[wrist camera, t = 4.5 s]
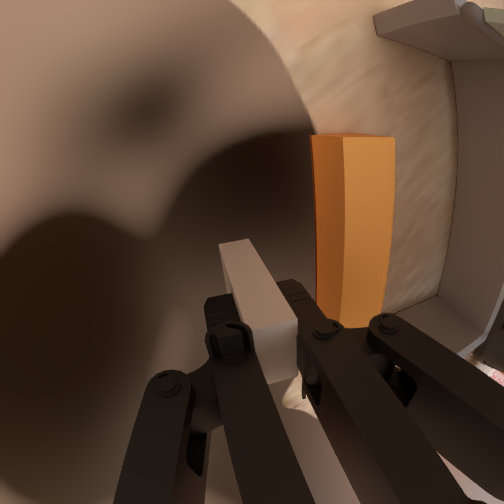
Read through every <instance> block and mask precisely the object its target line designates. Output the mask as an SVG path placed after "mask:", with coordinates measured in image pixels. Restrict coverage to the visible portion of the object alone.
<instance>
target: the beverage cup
mask: <svg viewBox="0 0 504 504" xmlns="http://www.w3.org/2000/svg"><path fill="white" fill-rule="evenodd" d="M488 376H489V377H491V378H492V379H494V380H495V381H497V382H498V383H499V384H501V385H502V386H504V375H502V374H501V373H500V372H499V371H498V370H496V369H492V370H491V371H490V372H489V374H488Z"/></svg>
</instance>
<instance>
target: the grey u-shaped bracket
mask: <svg viewBox="0 0 504 504" xmlns="http://www.w3.org/2000/svg"><path fill="white" fill-rule="evenodd" d="M466 2H467V1H466V0H413V1H411V2H408V3H405V4H402V5H399V6H397V7H394V8H392V9H389V10H387V11H384V12H382V13H379V14H377V15H375V16H373V18H374V22H375V27H376V32H377V36H380V37H384V38H388V39H391V40H394V41H398V42H401V43H404V44H407V45H410V46H413V47H416V48H419V49H421V50H424V51H427V52H429V53H432V54H434V55H437V56H439V57H442V58H444V59H446V60H449V61H451V64H452V70H453V77H454V85H455V94H456V106H457V123H458V166H457V184H456V196H455V205H454V214H453V221H452V228H451V234H450V240H449V246H448V251H447V256H446V261H445V265H444V270H443V274H442V278H441V282H440V286H439V290H438V294H437V296H435V297H432V298H430V299H428V300H426V301H424V302H421V303H419V304H417V305H414V306H412V307H410V308H407V309H405V310H403V311H400V312H398V313H395V314H394V315H396V316H399V317H401V318H402V319H404V320H405V321H407V322H408V323H410V324H411V325H413V326H415V327H416V328H418V329H419V330H421V331H422V332H424V333H425V334H427V335H428V336H430V337H431V338H433V339H434V340H436V341H438V342H439V343H441V344H442V345H444V346H445V347H447V348H448V349H450V350H451V351H453V352H454V353H456V354H457V355H459V356H460V357H462V358H463V357H465V356H466V355H467V354H469V353H470V352H471V351H473V350H474V349H475V348H476V347H478V346H479V345H480V344H481V343H483V342H484V341H485V340H486V338H487V336H488V334H489V332H490V329H491V327H492V325H493V323H494V320H495V318H496V316H497V313H498V311H499V308H500V306H501V303H502V301H503V298H504V51H503V50H502V49H501V48H500V47H499V46H497V45H496V44H495V43H494V42H492V41H491V40H490V39H489V38H487V37H486V36H485V35H483V34H482V33H481V32H479V31H478V30H476V29H475V28H474V27H472V26H471V25H469V24H468V23H466V22H465V21H464V20H463V18H462V16H461V6H462V5H463V4H464V3H466ZM396 366H397V365H396ZM397 367H398V366H397ZM398 368H399V367H398Z"/></svg>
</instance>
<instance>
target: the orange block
mask: <svg viewBox="0 0 504 504" xmlns="http://www.w3.org/2000/svg"><path fill="white" fill-rule="evenodd" d="M310 147H311V158H312V159H311V160H312V174H313V192H314V217H315V257H316V258H315V265H316V266H315V268H316V269H315V270H316V272H315V273H316V275H315V277H316V278H315V281H316V282H315V285H316V286H315V291H316V292H315V303H316V304H317V305H318V307H319V308H320V309H321V311H322V312H323V313H324V315H325V316H326V317H327V319H333V320H335V321H338V322H339V323H341V324H342V325H343V326H344V327H345V328H361V327H368V326H369V322H370V320H371V319H372V318H373V317H374V316H376V315H378V314H381V310H382V304H383V299H384V293H385V287H386V280H387V273H388V266H389V258H390V250H391V240H392V229H393V216H394V197H395V137H386V136H376V135H365V134H329V135H310Z"/></svg>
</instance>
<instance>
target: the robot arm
mask: <svg viewBox="0 0 504 504" xmlns="http://www.w3.org/2000/svg"><path fill="white" fill-rule="evenodd" d="M219 249H220V255H221V261H222V266H223V272H224V278H225V283H226V289H227V293H228V294H224V295H220V296H215V297H210V298H208V299H207V300H206V303H205V305H204V312H205V318H206V325H207V331H208V332H207V333H206V336H205V343H206V347H207V350H208V353H209V356H210V357H209V359H208V360H207V362H206V363H205V364H204V365H203V366H202V367H200V368H199V369H197V370H195V371H193V372H191V373H189V374H187V375H186V374H185V373H183V372H181V371H177V370H166V371H163V372H160V373H158V374H156V375H155V376H154V377H153V378H151V379H150V381H149V383H148V384H147V387H146V390H145V393H144V396H143V399H142V402H141V405H140V409H139V411H138V415H137V418H136V421H135V424H134V428H133V431H132V434H131V438H130V441H129V445H128V448H127V452H126V455H125V459H124V462H123V466H122V470H121V474H120V477H119V481H118V486H117V490H116V494H115V497H114V502H113V504H204V500H205V491H206V479H207V470H208V461H209V451H210V442H211V433H212V430H213V429H215V428H217V427H219V426H221V425H224V430H225V434H226V439H227V443H228V447H229V452H230V455H231V460H232V464H233V468H234V472H235V476H236V479H237V483H238V487H239V490H240V494H241V498H242V502H243V504H315V502H314V499H313V497H312V494H311V492H310V490H309V487H308V485H307V483H306V480H305V478H304V475H303V473H302V471H301V468H300V466H299V463H298V461H297V459H296V456H295V454H294V451H293V449H292V446H291V444H290V441H289V439H288V437H287V434H286V431H285V429H284V426H283V424H282V421H281V418H280V416H279V413H278V411H277V408H276V405H275V403H274V400H273V397H272V395H271V392H270V390H269V387H268V384H271V383H275V382H279V381H283V380H286V379H290V378H293V377H296V376H298V368H299V371H300V373H301V375H302V399H306V395H307V397H308V399H309V401H310V403H311V405H312V407H313V409H314V411H315V413H316V415H317V417H318V419H319V421H320V423H321V425H322V427H323V429H324V431H325V433H326V435H327V438H328V440H329V441H330V444H331V445H332V448H333V450H334V452H335V454H336V456H337V458H338V460H339V462H340V464H341V466H342V468H343V470H344V471H345V474H346V476H347V478H348V480H349V481H350V484H351V486H352V488H353V490H354V491H355V494H356V495H357V497H358V499H359V501H360V503H361V504H487V503H485V502H483V501H477V500H472V499H470V498H468V497H467V496H466V495H465V494H464V492H463V490H462V489H461V487H460V486H459V484H458V483H457V481H456V480H455V478H454V477H453V475H452V474H451V472H450V471H449V469H448V468H447V466H446V465H445V463H444V462H443V461H442V459H441V458H440V456H439V455H438V454H437V452H438V453H439V454H440V455H441V456H443V457H444V458H445V459H446V460H448V461H449V462H450V463H451V464H452V465H454V466H455V467H456V468H457V469H459V470H460V471H461V472H462V473H464V474H465V475H466V476H467V477H468V478H470V479H471V480H472V481H473V482H475V483H476V484H477V485H479V486H480V487H481V488H482V489H484V490H485V491H486V492H488V493H489V494H491V495H492V496H494V497H495V498H497V499H499V500H502V501H504V386H502V385H501V384H499V383H498V382H497V381H495V380H494V379H492V378H491V377H489V376H488V375H487V374H485V373H484V372H482V371H481V370H479V369H478V368H476V367H475V366H473V365H472V364H470V363H469V362H467V361H466V360H465V359H463V358H462V357H460V356H459V355H457V354H456V353H454V352H453V351H451V350H450V349H448V348H447V347H445V346H444V345H442V344H441V343H439V342H438V341H436V340H434V339H433V338H431V337H430V336H428V335H427V334H425V333H424V332H422V331H421V330H419V329H418V328H416V327H415V326H413V325H411V324H410V323H408V322H407V321H405V320H404V319H402V318H401V317H399V316H396V315H394V314H388V313H384V314H378V315H376V316H374V317H373V318H372V319H371V320H370V322H369V326H368V327H361V328H345V327H344V326H343V325H342V324H341V323H339V322H338V321H335V320H333V319H327V317H326V316H325V315H324V313H323V312H322V311H321V309H320V308H319V307H318V305H317V304H316V303H315V301H314V300H313V299H312V298H311V296H310V295H309V293H308V292H307V291H306V289H305V288H304V287H303V285H302V284H300V283H299V282H297V281H295V280H293V279H289V280H285V281H280V282H276V283H275V281H274V279H273V278H272V276H271V274H270V273H269V271H268V270H267V268H266V266H265V265H264V263H263V262H262V260H261V258H260V257H259V255H258V253H257V252H256V250H255V248H254V247H253V245H252V243H251V242H250V240H249V239H244V240H238V241H233V242H228V243H223V244H219ZM474 357H475V358H476V359H477V360H478V361H479V362H480V363H481V364H484V365H487V366H489V367H491V368H493V369H496V370H498V371H500V372H503V373H504V301H503V302H502V304H501V306H500V308H499V311H498V313H497V316H496V318H495V320H494V323H493V325H492V327H491V329H490V332H489V334H488V336H487V338H486V340H485V341H484V342H483V343H481V344H480V345H479V346H478V347H476V350H475V353H474ZM395 365H397V366H398V367H399V368H397V367H396V366H395ZM436 451H437V452H436Z"/></svg>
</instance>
